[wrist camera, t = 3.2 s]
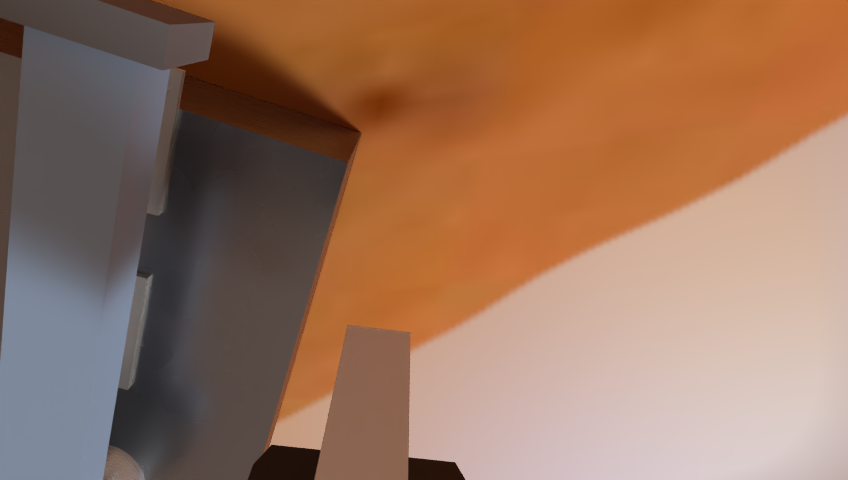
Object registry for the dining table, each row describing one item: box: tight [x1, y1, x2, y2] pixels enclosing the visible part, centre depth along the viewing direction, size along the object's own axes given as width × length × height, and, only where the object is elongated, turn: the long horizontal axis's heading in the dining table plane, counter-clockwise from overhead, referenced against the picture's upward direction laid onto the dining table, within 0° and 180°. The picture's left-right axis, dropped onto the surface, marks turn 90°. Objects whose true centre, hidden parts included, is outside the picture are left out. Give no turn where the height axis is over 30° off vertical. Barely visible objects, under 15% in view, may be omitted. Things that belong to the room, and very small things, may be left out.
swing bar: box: [0, 0, 215, 480], centre depth 14 cm, size 18×4×2 cm, turn 161°
